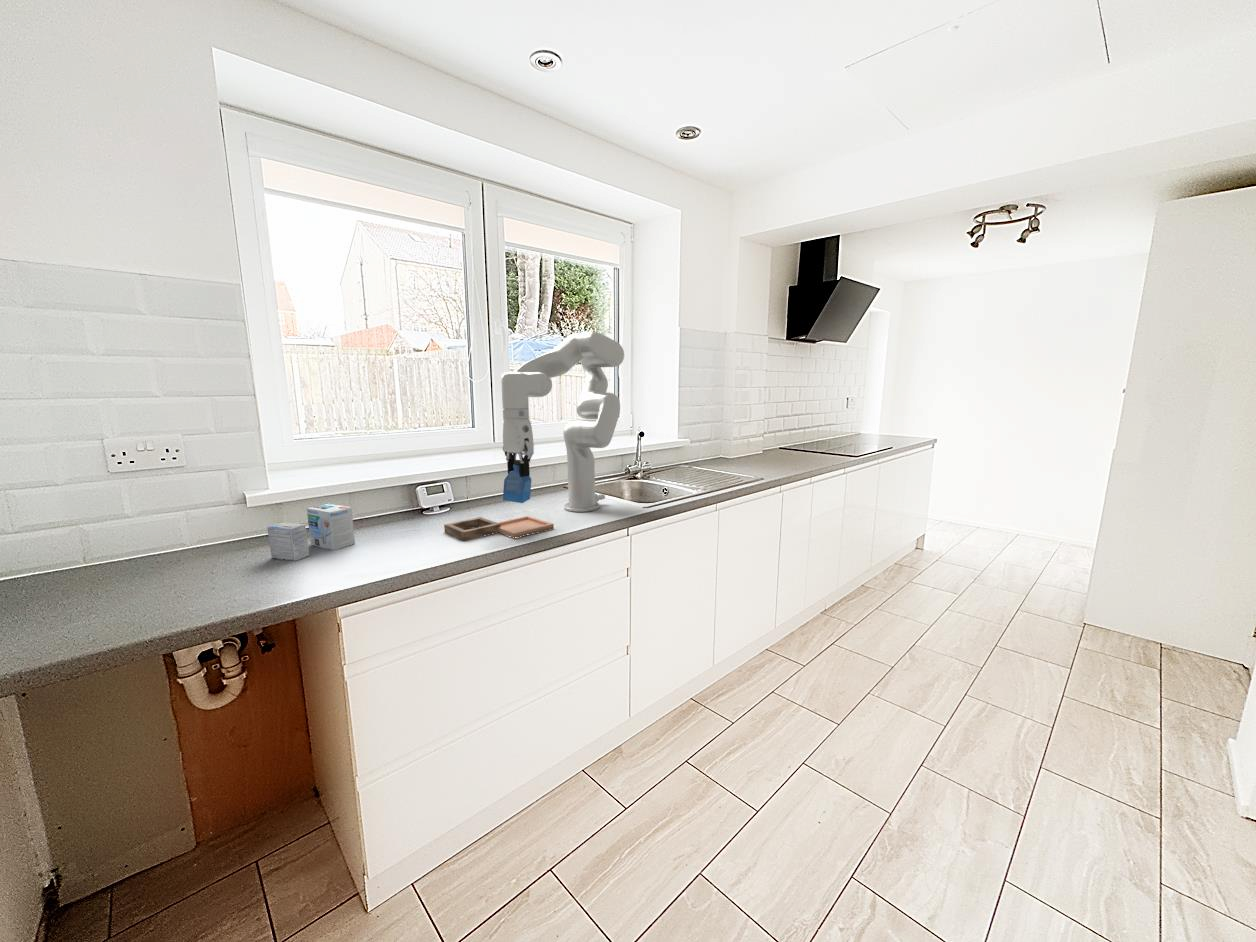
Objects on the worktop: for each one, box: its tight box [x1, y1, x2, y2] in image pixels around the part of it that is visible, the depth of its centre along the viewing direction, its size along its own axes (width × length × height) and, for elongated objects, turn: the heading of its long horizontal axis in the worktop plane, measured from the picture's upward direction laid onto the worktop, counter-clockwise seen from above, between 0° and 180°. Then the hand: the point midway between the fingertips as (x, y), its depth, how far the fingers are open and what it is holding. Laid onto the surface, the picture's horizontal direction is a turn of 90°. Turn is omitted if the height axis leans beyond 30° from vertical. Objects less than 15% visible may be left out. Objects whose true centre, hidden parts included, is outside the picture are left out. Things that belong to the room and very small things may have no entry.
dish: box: [497, 515, 555, 538], centre depth 154 cm, size 14×14×2 cm
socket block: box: [443, 516, 501, 542], centre depth 151 cm, size 12×12×2 cm
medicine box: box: [267, 522, 310, 562], centre depth 130 cm, size 8×4×9 cm, turn 74°
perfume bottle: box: [502, 459, 532, 504], centre depth 152 cm, size 6×6×12 cm
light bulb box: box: [306, 503, 356, 551], centre depth 140 cm, size 11×7×11 cm, turn 62°
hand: (518, 474), depth 151 cm, fingers closed on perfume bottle, 5 cm apart
